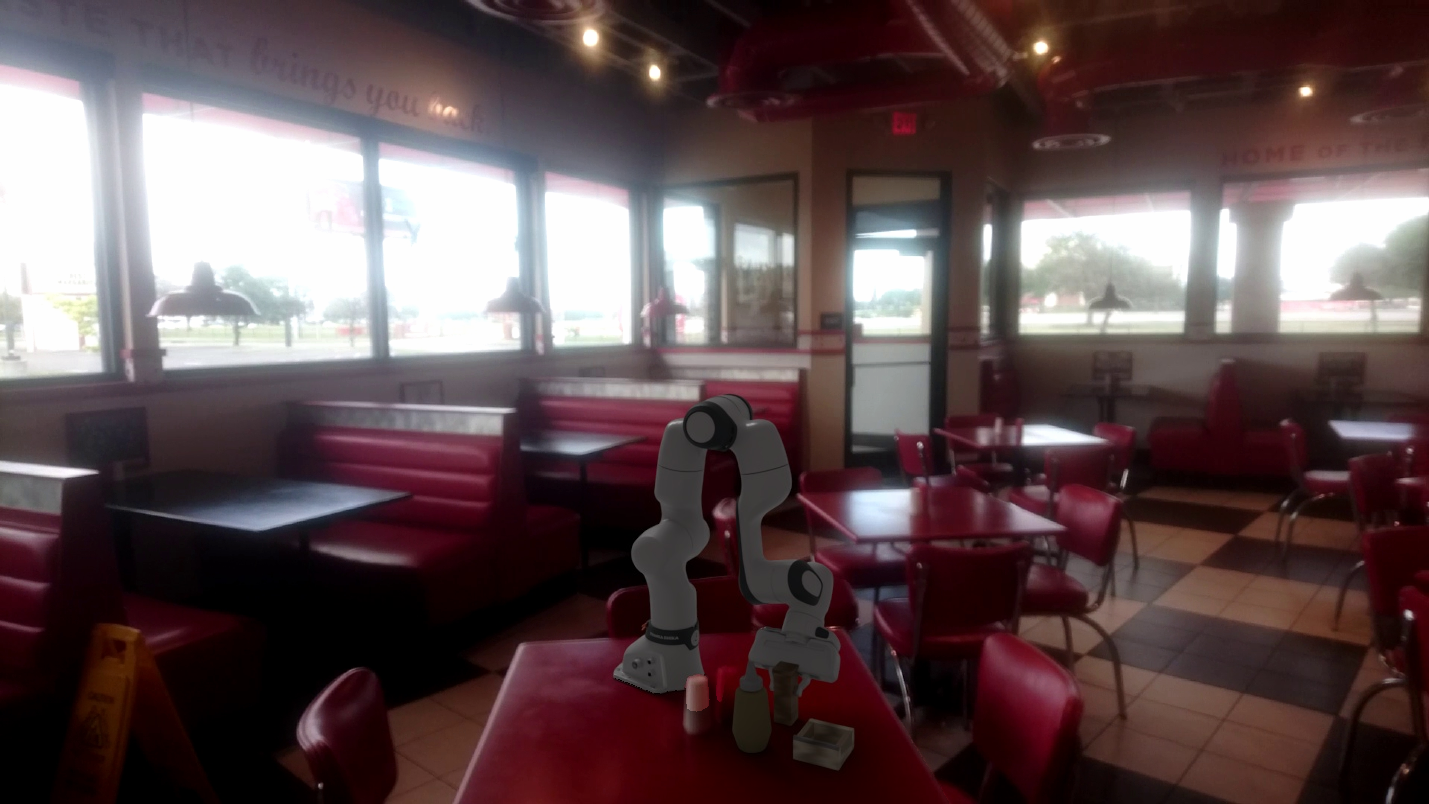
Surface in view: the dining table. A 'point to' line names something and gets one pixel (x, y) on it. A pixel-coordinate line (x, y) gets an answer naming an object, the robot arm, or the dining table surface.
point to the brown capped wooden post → (785, 693)
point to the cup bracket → (823, 744)
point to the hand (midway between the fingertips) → (784, 692)
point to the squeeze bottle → (751, 713)
